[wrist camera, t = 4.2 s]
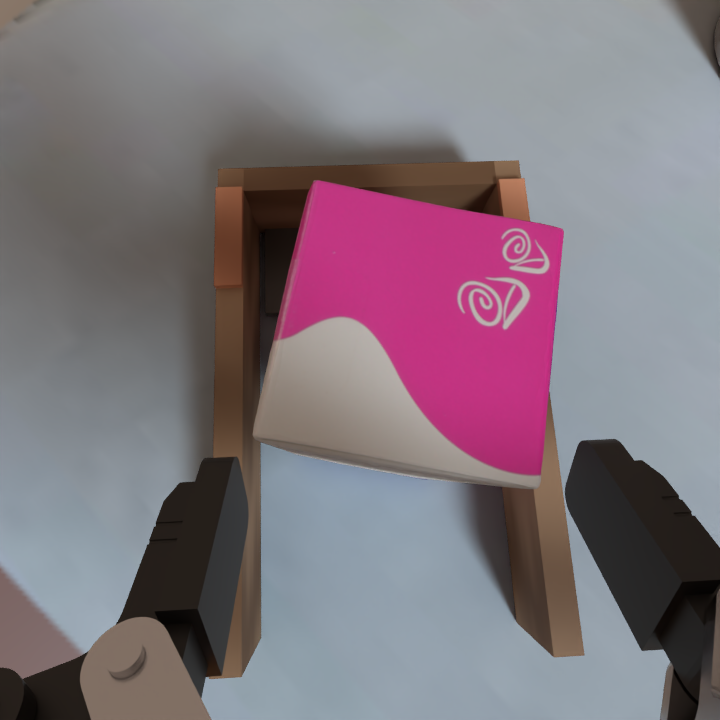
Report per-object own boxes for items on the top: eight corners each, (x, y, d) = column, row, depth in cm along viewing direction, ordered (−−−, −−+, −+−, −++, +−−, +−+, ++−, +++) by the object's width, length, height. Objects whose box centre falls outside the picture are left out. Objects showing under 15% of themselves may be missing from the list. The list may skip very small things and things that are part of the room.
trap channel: (238, 214, 22) (216, 164, 19) (493, 206, 23) (521, 155, 19) (235, 639, 18) (206, 683, 15) (541, 620, 19) (589, 659, 15)
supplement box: (434, 482, 20) (545, 503, 9) (295, 455, 20) (229, 442, 9) (454, 349, 21) (573, 219, 10) (323, 324, 21) (296, 168, 10)
